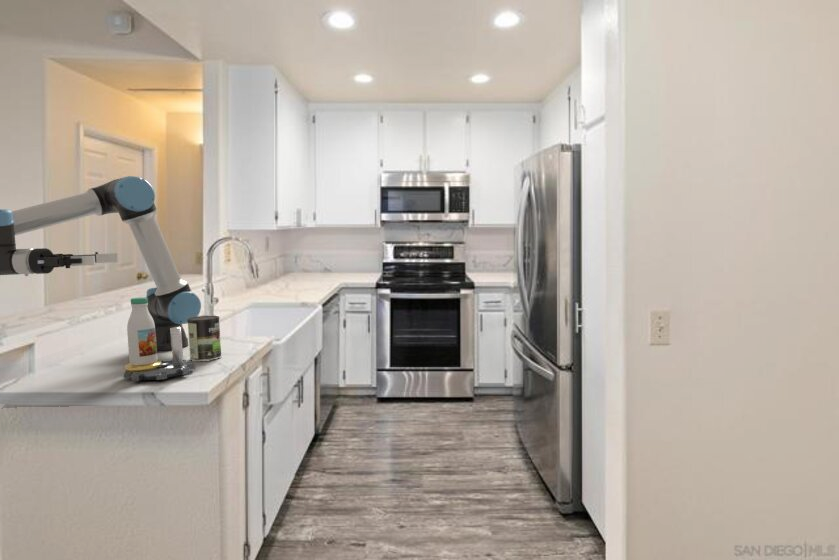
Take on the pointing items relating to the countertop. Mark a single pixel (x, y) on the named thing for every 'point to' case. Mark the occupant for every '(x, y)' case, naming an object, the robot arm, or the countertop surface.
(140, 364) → the milk bottle
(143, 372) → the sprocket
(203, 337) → the coffee can
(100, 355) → the countertop surface
